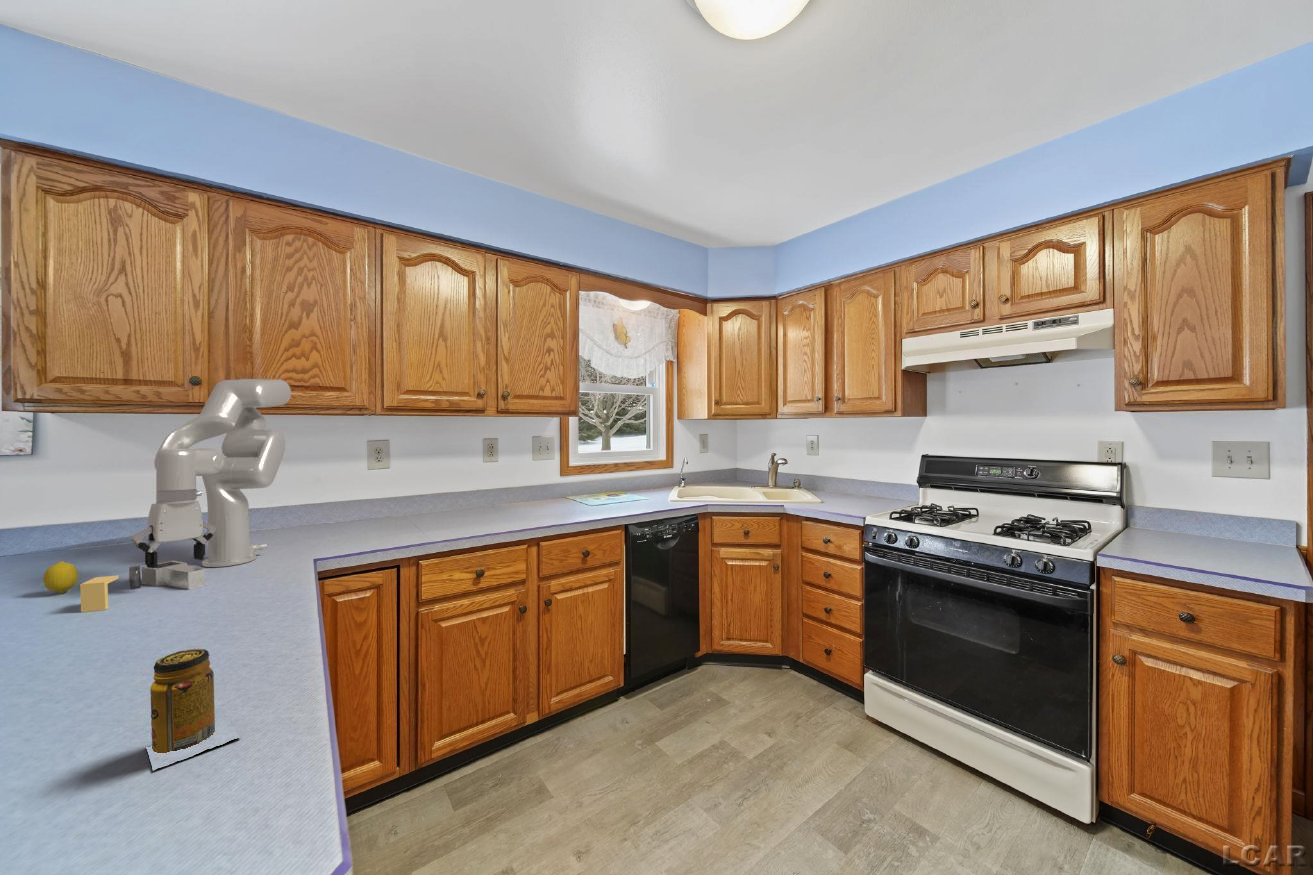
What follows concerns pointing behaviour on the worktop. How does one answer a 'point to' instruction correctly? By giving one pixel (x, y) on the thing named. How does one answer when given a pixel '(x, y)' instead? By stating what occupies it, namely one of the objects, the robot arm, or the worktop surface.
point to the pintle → (135, 577)
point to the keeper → (95, 593)
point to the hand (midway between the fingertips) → (176, 563)
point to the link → (174, 575)
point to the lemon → (60, 577)
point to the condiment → (182, 700)
